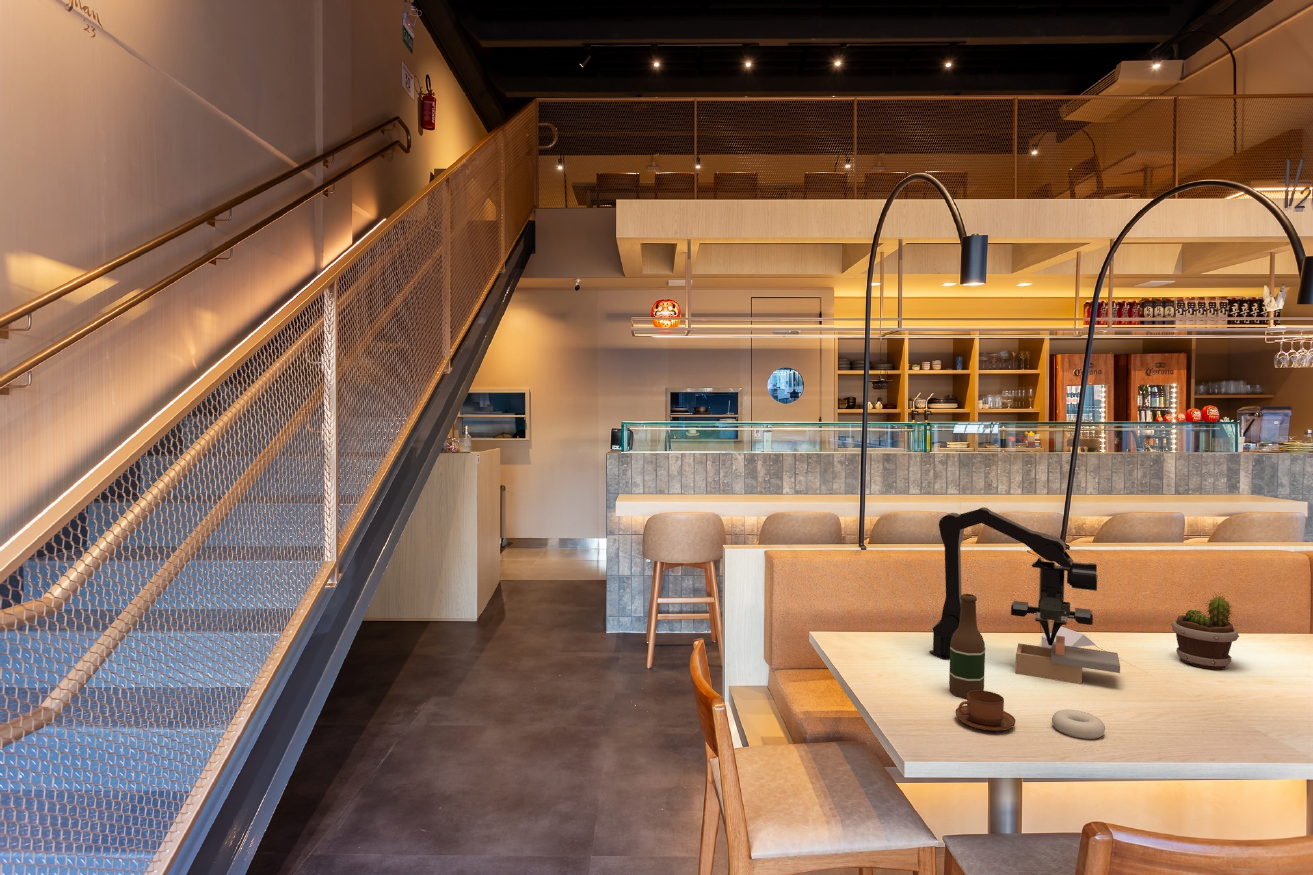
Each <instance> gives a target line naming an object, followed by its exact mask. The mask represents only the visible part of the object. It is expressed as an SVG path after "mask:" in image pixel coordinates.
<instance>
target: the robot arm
mask: <svg viewBox="0 0 1313 875" xmlns="http://www.w3.org/2000/svg"><path fill="white" fill-rule="evenodd" d="M981 524H983V525H985V526H987V527H988V528H991V529H992V530H993V529H994V530H995V531H997V532H1000V533H1001V534H1004V535H1005V536H1007V537H1010V538H1012V539H1013V540H1015V541H1018V542H1019V543H1021V544H1024V545H1025V546H1027V547H1028V549H1030V550H1032V551H1033V553H1035V554H1036V555H1039V557H1038V558H1037V560H1036V561H1034V562H1032V563H1031V568H1037V569H1039V587H1038V589H1039V593H1038V595H1039V596H1038V602H1037V603H1038V605H1037V606H1031V605H1029V602H1027V601H1020V600H1013V601H1012V602H1011V606H1010V615H1011V616H1014V617H1023V618H1024V617H1025V616H1027V615H1028V614H1033V615H1034V616H1035V617H1034V621H1036V622H1038V623H1039V624H1040V625H1041V627H1042V629H1043V632H1044V633H1045V635H1046V638H1047V642H1048V645H1050V646H1052V644H1053V642H1054V639H1055V637H1056V634H1057V632H1058V630H1059V629H1060V627H1063V626H1066V625H1067V624H1068V623H1067V622H1068V619H1074V621H1076V623H1078V624H1079V625H1080V624H1081V625H1086V626H1087V625H1088V626H1092V625H1093V624H1094V616H1093V613H1094V612H1093V611H1092V610H1091V609H1089V608H1081V607H1080V608H1079V607H1074V610H1071V602H1069V601H1065V574H1066V583H1067V585H1069V586H1071V589H1075V590H1077V589H1078V590H1087V591H1093V592H1095V591H1096V592H1097V591H1098V581H1099V580H1098V578H1099V577H1098V576H1099V575H1098V568H1097V567H1098V564H1097V563H1091V562H1090V563H1088V562H1087V563H1085V562H1075V561H1074V559H1073V558H1072V557H1071V556H1070V555H1069V553H1068V552H1067V550H1066V549H1067V548H1066V547H1067V546H1066V545H1065V544H1066V543H1065V542H1064V541H1063V539H1061V538H1060V537H1058V536H1056V535H1050V534H1048V533H1045V532H1039V531H1035V530H1032V529H1030V528H1027V527H1026V526H1024V525H1022V524H1019V523H1017V522H1015V521H1013V520H1011V519H1009V518H1008V517H1004V516H1003V515H1000V514H999V513H997V512H994V511H992V510H991V509H989V508H988V507H984V506H983V507H978V509H974V510H971V511H967V512H964V513H957V512H950V513H948V514H945V515H944V516H942V517H941V518H940V520H939V522H938V529H939V532H940V533H939V534H940V538H941V542H942V543H943V546H944V568H945V569H944V570H945V571H944V573H945V574H944V576H945V577H944V578H945V580H944V581H945V600H944V603H943V607H942V610H941V611H942V612H941V617H940V618H941V619H940V620H939V621H938V622H936V624H935V625H934V626H933V627H932V632H933V633H932V634H933V635H932V636H933V637H932V639H933V640H932V641H933V642H932V649H931V650H930V649H929V653H930V654H931V655H934V656H936V657H938V658H940V659H942V660H950V643H951V638H952V636H953V633H954V632H955V631H956V630H957V628H958V626H959V621H960V611H961V599H960V597H961V595H962V594H963V592H962V561H961V559H962V558H961V556H962V555H961V552H962V551H961V547H962V546H961V545H962V541H963V539H964V532H965V529H967V528H970V527H975V526H977V525H981ZM1044 560H1045V561H1044ZM1056 564H1057V565H1056ZM1065 571H1066V573H1065ZM1049 620H1050V621H1053V623H1052V629H1051V631H1050V622H1049ZM1050 633H1051V637H1050Z"/></svg>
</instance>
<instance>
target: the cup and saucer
mask: <svg viewBox="0 0 1313 875" xmlns="http://www.w3.org/2000/svg"><path fill="white" fill-rule="evenodd" d="M1004 706H1005V698H1004V697H1003V696H1002V695H1000V694H998V693H995V692H993V691H988V690H984V691H982V690H974V691H970V692H968V693H967V699H966V700H964V701H963V700H962V701H961V702H960V703H959V704H958V707H957V708H956V709H955V715H956V717H957V718H958V719H959V721H961V722H962V723H963V724H965V725H968V726H969V727H972V728H974V729H978V730H982V731H989V732H1001V731H1006V730H1009V729H1011V728H1013V727H1014V726H1015V724H1016V718H1015V717H1014V716H1013V715H1012V714H1011V713H1009V712H1007V711H1005V707H1004Z"/></svg>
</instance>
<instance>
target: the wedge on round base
mask: <svg viewBox="0 0 1313 875" xmlns="http://www.w3.org/2000/svg"><path fill="white" fill-rule="evenodd" d="M1051 633H1052V632H1050V637H1051ZM1056 635H1057V636H1064V637H1065V646H1072V647H1079V648H1083V647H1090V646H1097V644H1095V642H1093V641H1092V640H1091V639H1090V638H1089V637H1087V635H1085V634H1084V633H1082V632H1077V631H1075V630H1072V629H1069V628H1066V627H1063V626H1061V627H1060V629H1059V630H1058V632H1057V634H1056ZM1053 644H1056V637H1055V639H1054V642H1053ZM1040 645H1041V646H1042V647H1049V648H1052V646H1050V645H1048V642H1047V638H1046V635H1045V632H1044V633H1042V634H1041V644H1040Z"/></svg>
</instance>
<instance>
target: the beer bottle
mask: <svg viewBox="0 0 1313 875" xmlns="http://www.w3.org/2000/svg"><path fill="white" fill-rule="evenodd" d="M960 599H961V611H960V621H959V626H958V628H957V630H956V631H955V632H954V633H953V636H952V638H951V643H950V659H949V671H948V672H949V676H948V677H949V681H948V683H949V685H948V686H949V691H950V693H951V694H952V695H953V696H955V697H957V698H960V699H961V698H962V699H966V700H967V693H968V692H970V691H974V690H982V691H985V673H986V672H985V669H986V668H985V666H986V645H985V641H984V637H983V635H982V634H981V632H980V631H979V628H978V622H977V621H978V620H977V602H976V601H978V598H977V596H976V595H974V594H972V593H962V595H961V597H960Z"/></svg>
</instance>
